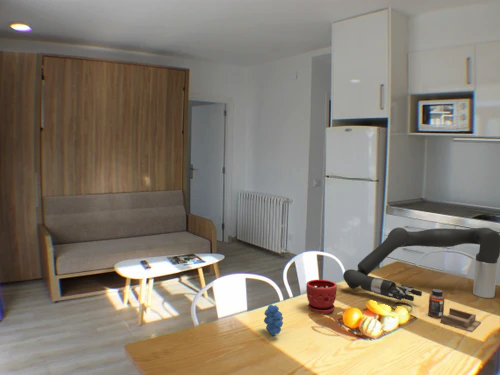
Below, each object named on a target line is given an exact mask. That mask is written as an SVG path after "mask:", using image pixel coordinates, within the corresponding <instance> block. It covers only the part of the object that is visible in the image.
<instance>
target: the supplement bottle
mask: <svg viewBox="0 0 500 375" xmlns="http://www.w3.org/2000/svg"><path fill="white" fill-rule="evenodd" d="M428 298H429V299H428V311H427V312H428V313H427V314H428V316H430V317H431V318H435V319H441V315H444V312H445V310H444V309H445V296H444V295H443V290H442V289H439V288H438V289H437V288H433V289H432V292H431V293H430V294H429V297H428Z"/></svg>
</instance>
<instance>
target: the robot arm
mask: <svg viewBox="0 0 500 375" xmlns="http://www.w3.org/2000/svg"><path fill="white" fill-rule="evenodd" d="M467 244H468V245H469V244H470V245H479V251H478V253H476V254H475V263H474V264H475V265H474V275H473V276H474V277H473V290H472V293H473V295H475V296H477V297H479V298H485V299H493V298H495V293H496V283H497V282H496V280H497V270H498V269H497V268H498V259H499V258H500V233H499V232H498V231H497V230H495V229H492V228H489V227H476V228H468V229H466V228H465V229H462V228H445V227H444V228H430V229H423V230H419V231H410V230H409V231H407V229H405V228H404V227H395V228H393V229H391V230H390V232H389V233H388V235H387V237H386V238H385V240H383V242H382V243H380V245H378V246H377V247H376V248H375V249H373V250H372V251H371V252H369V253H368V254H367V255H366V256H365V257H364V258H363V259H361V261H359V262H358V264H357V270H356V269H352V268H351V269H346V270H345V271H344V272H343V274H342V278H343V281H344V282H345V283H346V284H347V286H348V287H349V288H350V289H357V288H359V287H361V289H363V290H364V291H368V292H371V293H374V294H376V295H380V296H383V297H387V298H392V299H395V300H398V301H402V300H407V301H411V302H414V300H415V296H418V297H422V294H423V292H422V291H421V290H418V289H415V287H414V286H410V285H405V284H401V285H397V284H396V282H395V281H393V280H389V279H386V278H381V277H374V276H371V275H369V274H371V273H372V272H373V271H374V270H375V269H376V268H377V267H378V266H379V265H380V264H381V263H382V262H383V261H384V260H385V259H386V258H387V257H388V256H389V255H390V254H392V253H393V252H394V251H395V250H397V249H398V248H404V247H405V248H406V247H426V248H427V247H429V248H451V247H457V246H459V245H467Z"/></svg>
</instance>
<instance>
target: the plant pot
mask: <svg viewBox="0 0 500 375" xmlns="http://www.w3.org/2000/svg"><path fill="white" fill-rule="evenodd" d="M305 284H306V285H305V288H306V297H307V301H308V304H307V307H308V310H310V311H311V312H314V313H317V314H330V313H332V312H333V311H334V310H335V307H336V306H335V305H334V304H335V301H336V298H337V290H338V286H337V283H336V282H334V281H332V280H326V279H312V280H308V281H307V282H306V283H305Z"/></svg>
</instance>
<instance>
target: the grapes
mask: <svg viewBox="0 0 500 375" xmlns="http://www.w3.org/2000/svg"><path fill="white" fill-rule="evenodd" d="M264 316H265V318H264V319H263V323H265V324H266V327H265V330H266V331H267V332H269V334H270V335H271V336H276V335H278V334H280V333H281V331H282V328H281V327H283V324H284V322H283V320H284V317H283V313H282V312H281V311H280V310H279V307H278V306H277V305H273V304H269V305H268V306H267V309H266V310H265V311H264Z"/></svg>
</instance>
